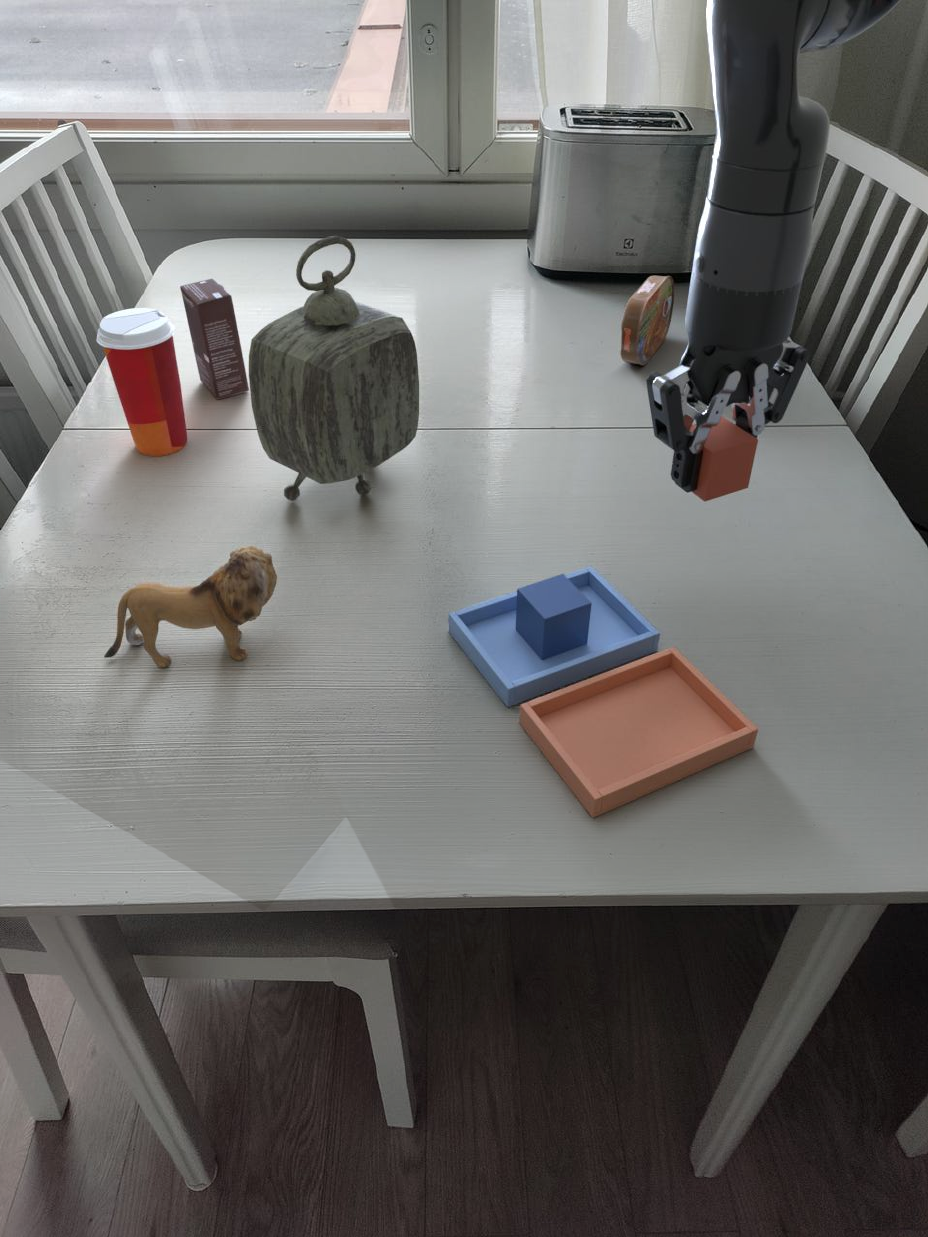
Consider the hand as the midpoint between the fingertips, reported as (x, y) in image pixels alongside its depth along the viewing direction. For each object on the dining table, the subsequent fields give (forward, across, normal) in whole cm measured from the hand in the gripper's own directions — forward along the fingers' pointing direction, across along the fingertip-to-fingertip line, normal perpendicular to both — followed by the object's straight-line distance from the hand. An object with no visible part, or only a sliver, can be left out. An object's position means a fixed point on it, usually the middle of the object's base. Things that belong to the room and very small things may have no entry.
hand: (710, 478), depth 77 cm
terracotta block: (0, 0, 0) cm, 0 cm away
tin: (+12, +26, +43) cm, 52 cm away
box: (+11, -25, +58) cm, 64 cm away
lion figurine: (+12, -40, +13) cm, 44 cm away
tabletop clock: (+12, -20, +30) cm, 38 cm away
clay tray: (+12, -14, -12) cm, 22 cm away
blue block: (+11, -14, 0) cm, 18 cm away
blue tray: (+12, -14, 0) cm, 18 cm away
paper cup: (+11, -35, +48) cm, 61 cm away
